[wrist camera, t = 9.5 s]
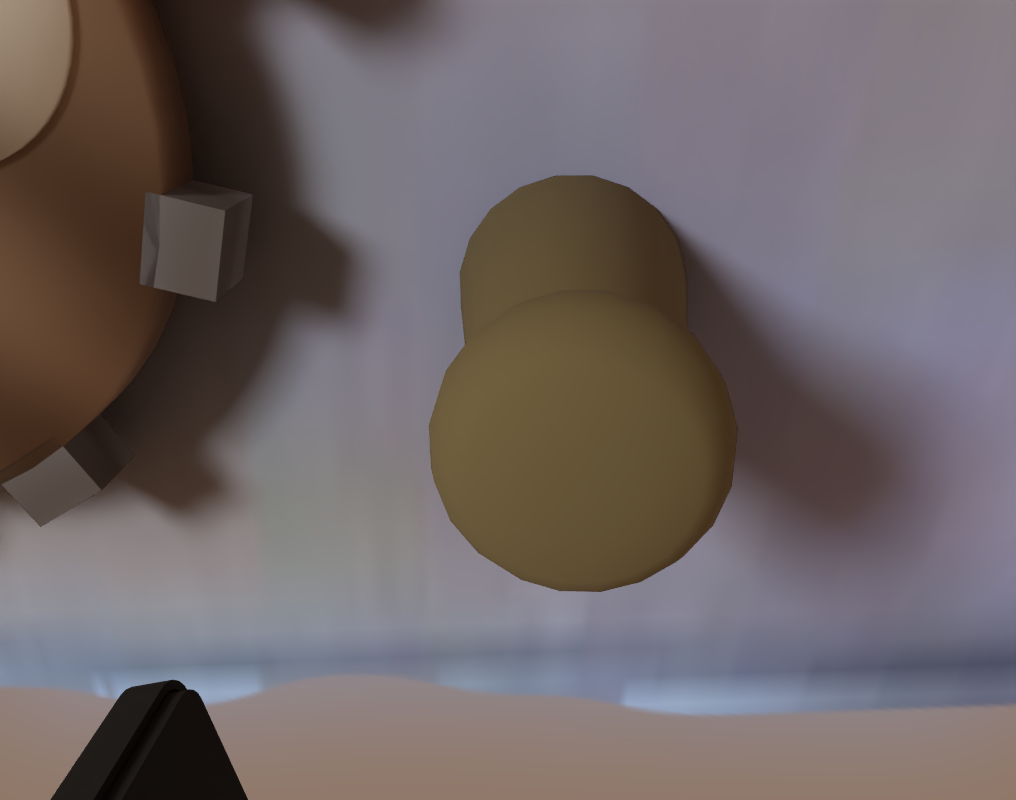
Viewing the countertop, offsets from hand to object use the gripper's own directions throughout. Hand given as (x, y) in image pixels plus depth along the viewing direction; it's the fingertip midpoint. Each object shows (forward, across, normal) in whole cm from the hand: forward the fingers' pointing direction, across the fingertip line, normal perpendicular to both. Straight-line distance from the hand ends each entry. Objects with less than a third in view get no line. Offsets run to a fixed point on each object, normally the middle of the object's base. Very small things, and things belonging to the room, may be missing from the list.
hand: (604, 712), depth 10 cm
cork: (+15, 0, -1) cm, 15 cm away
